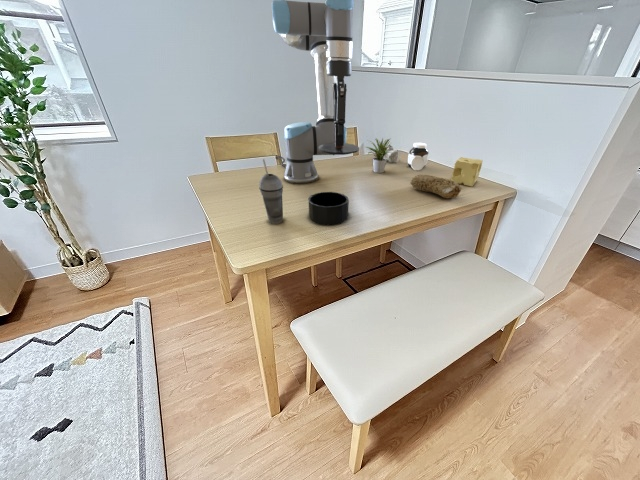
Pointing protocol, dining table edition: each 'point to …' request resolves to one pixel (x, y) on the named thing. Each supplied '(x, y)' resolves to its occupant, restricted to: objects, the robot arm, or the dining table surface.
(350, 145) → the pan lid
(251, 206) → the dining table surface
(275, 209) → the beverage cup
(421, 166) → the spread jar
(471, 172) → the cheese
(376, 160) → the house plant
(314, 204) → the black round bowl
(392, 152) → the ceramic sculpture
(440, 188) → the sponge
